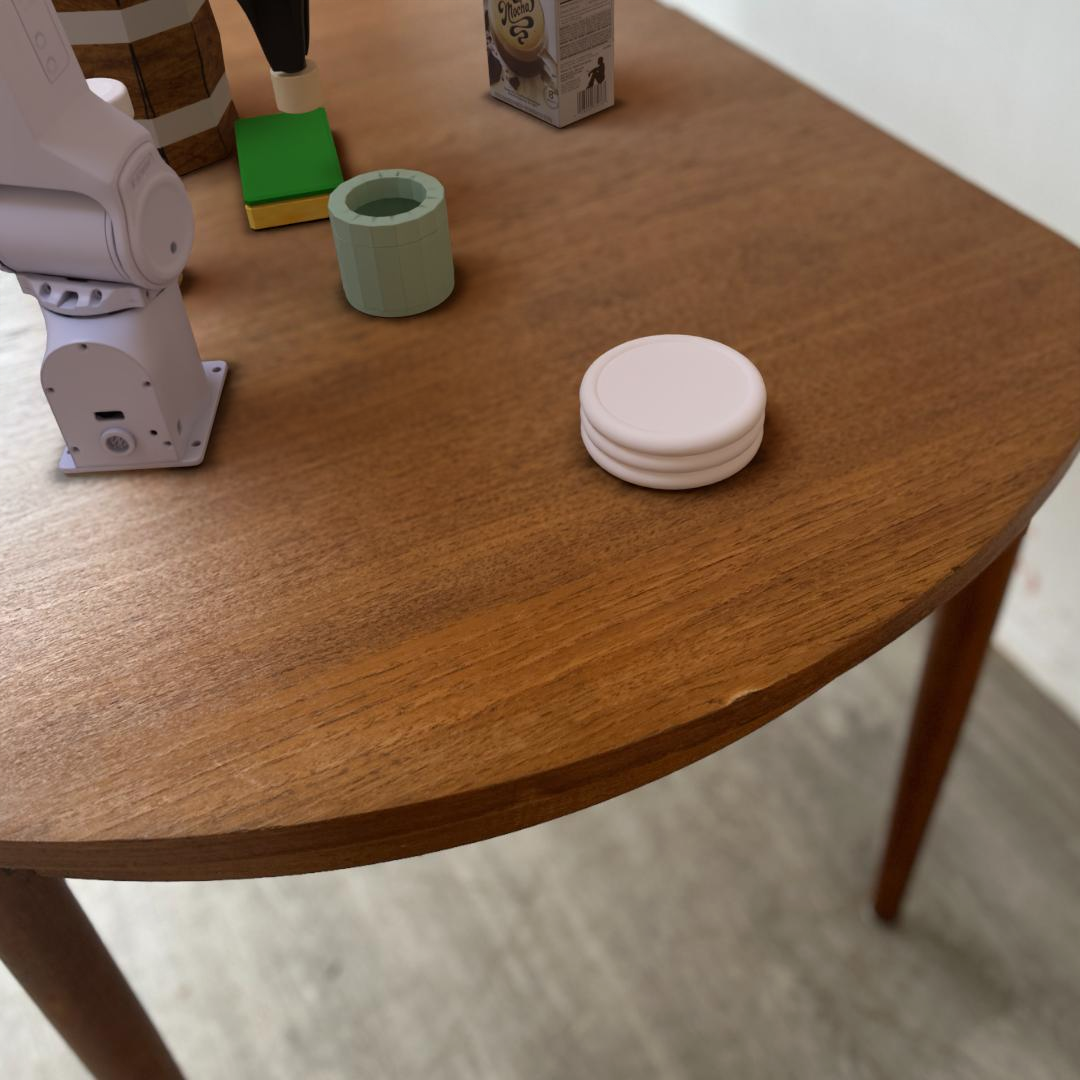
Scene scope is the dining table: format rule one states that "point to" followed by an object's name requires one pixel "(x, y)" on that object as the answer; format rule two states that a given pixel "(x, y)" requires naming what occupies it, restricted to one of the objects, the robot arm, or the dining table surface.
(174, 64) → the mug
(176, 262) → the robot arm
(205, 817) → the dining table surface
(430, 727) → the dining table surface
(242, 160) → the dish sponge
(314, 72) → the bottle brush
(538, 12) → the coffee box
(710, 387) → the white stacked discs
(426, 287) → the jar
